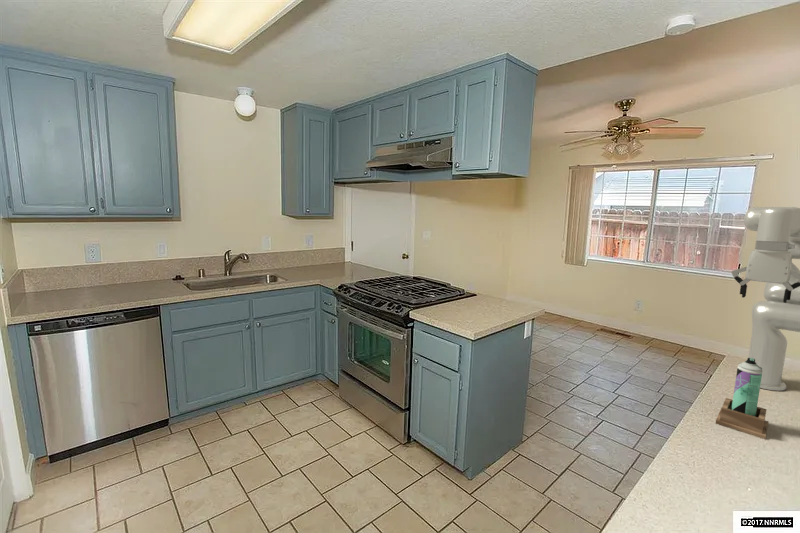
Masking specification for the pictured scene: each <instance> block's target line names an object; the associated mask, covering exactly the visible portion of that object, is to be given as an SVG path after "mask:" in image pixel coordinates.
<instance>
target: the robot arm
mask: <svg viewBox="0 0 800 533" xmlns="http://www.w3.org/2000/svg"><path fill="white" fill-rule="evenodd" d="M743 222H744V224H743V225H744V226H745V228H746V229H747V230H749V231H753V232H756V239H755V246H754V249H752V250H751V251H750V252H749V255H748V256H749V257H748V261H747V265H746V266H745V267H741V268H737V269H733V270H732V271H731V275H732V276H733V278H734V280H735V281H736V282H737V283H738V284H739V285H740V289H739V295H741V298H746V295H747V290H748V285H747V283H749V282H750V281H752V282H760V283H765V286H764V288H763V297H764V299H765V300H762V301H757V302H756V303H755V304H754V305H753V306H752V308H751V319H752V320H751V321H752V322H751V323H752V326H751V328H752V329H751V330H752V331H751V339H750V344H749V351H748V352H749V353H748V357H747V359H748V358H753V359H755V362H756V363H757V365H758V366H759V367H761V368H762V378H761V385H760V389H764V390H769V391H785V390H787V384H786V383H785V382H784V381H782V378H783V373H784V372H783V371H784V365H785V359H786V352H787V347H788V340H787V338H786V336H785V335H784V333H783V332H782V331H781V330H785V331H790V332H795V333H800V269H799V267H797V265H795V264H794V263H793V260H800V207H798V206H797V207H796V206H756V207H755V206H754V207H751V208H749V209H747V211H746V212H745V214H744V217H743ZM744 272H745V278H744V279H743V278H742V277H741V276H739V274H740V273H744Z"/></svg>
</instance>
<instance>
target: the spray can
mask: <svg viewBox="0 0 800 533" xmlns="http://www.w3.org/2000/svg"><path fill="white" fill-rule="evenodd" d="M761 378H762V368H761V367H759V366H758V365H757V363H756V362H755V359H753V358H748V357H747V360H744V361H743V362H739V363H738V365H737V369H736V376H735V382H734V389H733V396H732V400H733V402H732V409H731V410H734V411H737V412H741V413H744V414H748V415H751V416H754V417H756V410H757V407H758V402H759V396H760V391H761V388H760V385H761Z"/></svg>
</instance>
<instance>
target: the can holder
mask: <svg viewBox="0 0 800 533" xmlns="http://www.w3.org/2000/svg"><path fill="white" fill-rule="evenodd" d="M732 402H733V398H732V399H731V398H728V397H725V398H724V402H723V404H722V406H721V408H720V410H719V412H718V415H717V417H716V420H715V424H716V425H719V426H722V427H726V428H729V429H732V430H735V431H738V432H742V433H744V434H747V435H751V436H753V437H756V438H760V439H763V440H766V438H767V432H768V431H767V430H768V425H769V420H766V414H767V409H766V408H763V407H760V406H757V410H756V417H754V416H751V415H748V414H744V413H741V412H737V411H734V410H731V409H732Z"/></svg>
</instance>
